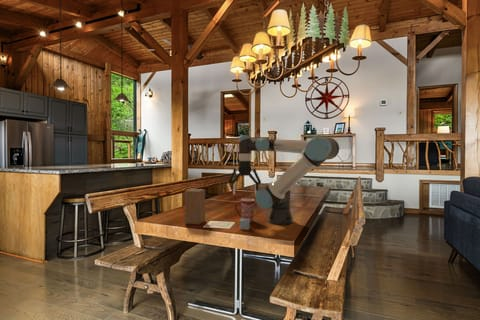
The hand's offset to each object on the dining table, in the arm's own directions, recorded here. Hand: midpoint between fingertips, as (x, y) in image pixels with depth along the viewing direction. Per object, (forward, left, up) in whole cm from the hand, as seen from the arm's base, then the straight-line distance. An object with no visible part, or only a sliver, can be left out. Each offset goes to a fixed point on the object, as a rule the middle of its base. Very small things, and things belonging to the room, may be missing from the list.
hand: (244, 194), depth 172 cm
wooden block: (+29, +9, -17) cm, 35 cm away
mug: (0, -1, -17) cm, 17 cm away
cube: (-3, +15, -17) cm, 23 cm away
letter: (+13, +11, -17) cm, 24 cm away
